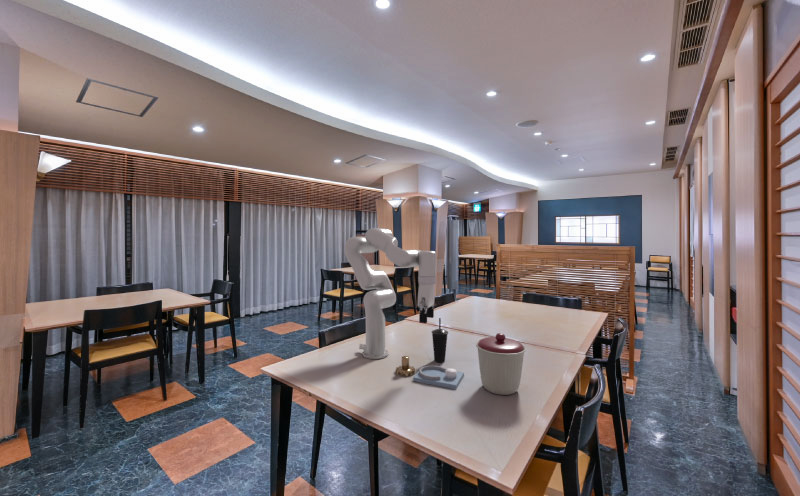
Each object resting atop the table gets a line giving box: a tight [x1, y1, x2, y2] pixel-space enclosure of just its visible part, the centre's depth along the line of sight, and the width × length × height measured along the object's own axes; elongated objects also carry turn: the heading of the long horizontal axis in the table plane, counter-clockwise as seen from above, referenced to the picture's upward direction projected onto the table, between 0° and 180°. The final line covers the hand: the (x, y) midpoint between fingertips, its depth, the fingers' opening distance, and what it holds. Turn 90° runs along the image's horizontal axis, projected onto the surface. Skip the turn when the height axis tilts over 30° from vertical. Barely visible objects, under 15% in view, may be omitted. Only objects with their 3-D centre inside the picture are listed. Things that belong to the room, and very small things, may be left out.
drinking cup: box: [431, 317, 449, 364], centre depth 151 cm, size 8×8×20 cm
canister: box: [475, 332, 527, 396], centre depth 123 cm, size 18×18×21 cm
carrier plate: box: [412, 365, 465, 390], centre depth 132 cm, size 18×13×4 cm
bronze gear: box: [395, 355, 416, 377], centre depth 138 cm, size 8×8×6 cm
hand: (426, 320), depth 138 cm, fingers open, 9 cm apart
